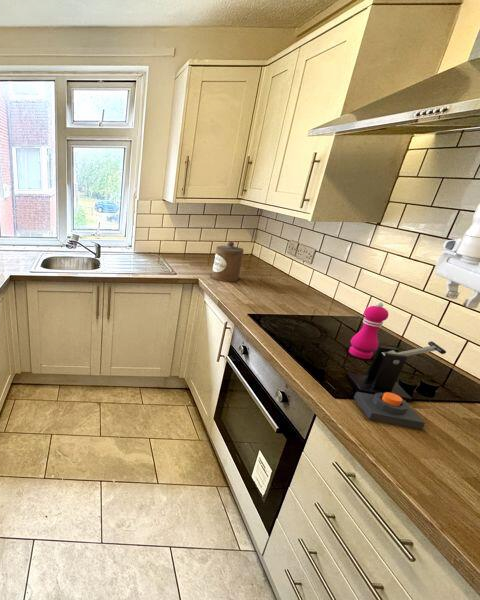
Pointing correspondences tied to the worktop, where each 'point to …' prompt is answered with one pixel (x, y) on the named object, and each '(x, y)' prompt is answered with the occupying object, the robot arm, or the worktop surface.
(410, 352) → the lever
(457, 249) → the robot arm
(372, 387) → the bracket
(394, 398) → the button
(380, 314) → the pepper mill
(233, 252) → the wooden container
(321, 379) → the worktop surface
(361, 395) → the button block
